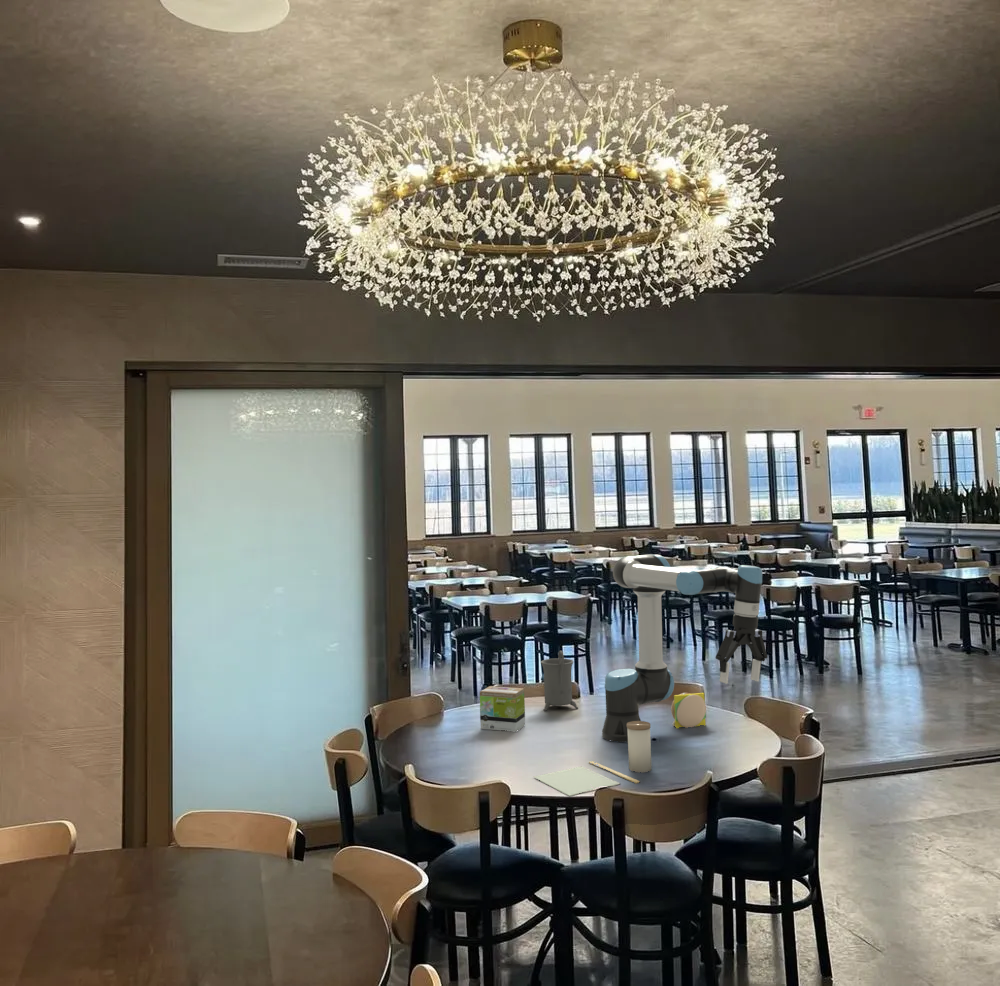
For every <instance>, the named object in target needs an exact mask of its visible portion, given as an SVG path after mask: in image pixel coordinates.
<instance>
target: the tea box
mask: <svg viewBox="0 0 1000 986" xmlns="http://www.w3.org/2000/svg"><path fill="white" fill-rule="evenodd" d="M525 708H526V705H525V688H523V687H521V688H520V687H507V686H494V685H493V686H491V685H489V686H487V687H486V688H484V689H482V690H480V691H479V716H480V717H479V718H480V723H479V724H480V730H491V731H493V730H494V731H501V730H505V731H504V732H510V731H517V730H518V731H520V730H521V729H522V728H524V727H525V726H524V725H526V712H525V711H526V709H525ZM523 726H524V727H523ZM520 728H521V729H520ZM519 729H520V730H519ZM506 730H507V731H506ZM518 731H517V732H518Z"/></svg>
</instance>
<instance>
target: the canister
mask: <svg viewBox="0 0 1000 986" xmlns="http://www.w3.org/2000/svg"><path fill="white" fill-rule="evenodd" d="M627 730H628V742H627V750H628V751H627V752H628V769H630V770H631V772H633V771H635V772H634V773H640V772H641V773H648V771H649V772H651V771H652V770H653V769H652V746H651V743H652V741H651V723H650V722H648V721H645V720H641V721H631V722H628V723H627ZM630 770H629V771H630Z"/></svg>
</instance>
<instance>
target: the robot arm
mask: <svg viewBox="0 0 1000 986" xmlns="http://www.w3.org/2000/svg"><path fill="white" fill-rule="evenodd" d="M612 577H613V579H614V581H615V582H616V584H617V585H618V586H620V587H622V588H625V589H632V591H633V593H634V594H635V595H636V596H637V620H638V621H637V623H638V624H637V625H638V626H637V627H638V628H637V629H638V632H637V633H638V661H637V662H636V663H635V665H634V668H623V669H622V668H618V669H614V670H612V671H610V672H608V673H607V674H606V675H605V677H604V679H605V680H604V690H605V717H604V718H605V719H604V722H603V726H602V729H601V736H602V737H601V738H603V739H604V738H605V739H604V740H606V739H607V741H609V740H611V741H610V742H614V741H618V742H617V743H628V730H627V723H628V722H631V721H642V720H641V718H640V717H641V716H640V714H639V713H640V712H639V710H640V709H639V705H645V704H650V703H651V704H653V703H659V702H662V701H665V700H667V699H669V698H670V697H671V696H672V694H673V692H674V688H675V678H674V676H673V673H672V672H671V670H670V669H668V664H666V662H664V659H663V656H664V655H663V654H664V653H663V621H662V620H663V619H662V618H663V616H662V613H663V612H662V596H663V594H664V593H665V592H666V591H674V592H680V593H681V595H682V594H683V595H686V596H688V595H689V596H693V595H700V594H707V593H719V592H728V593H731V594H735V598H734V605H733V612H734V613H733V615H732V616H733V617H732V625H733V627H734V628H733V630H732V629H731V630H730V629H726V630H725V635H724V638H723V640H722V642H721V644H720V646H719V649H718V651H717V652H716V655H715V659H716V660H718V661H719V662H720V665H719V673H720V674H719V675H720V677H719V682H720V683H722V684H724V685H727V684H729V675H730V674H729V673H730V662H729V661H730V659H731V658H732V656H733V655H734V654H735V652H736V651H737V649H738V648H739V647H741V646H744V645H747V646H748V647H749V650H750V651H751V654H752V655H753V657H754V658H753V659H752V664H751V672H750V673H751V674H750V680H752V681H755V682H758V683H759V682H760V673H761V669H762V663H763V662H765V661H766V659H768V654H767V650H766V646H765V641H764V637H763V630H761V629H758V627H759V626H758V624H759V623H758V622H759V617H758V615H759V610H760V602H761V593H762V585H763V570H762V568H761V567H759V566H755V565H748V564H741V565H739V566H738V567H737V569H734V568H729V567H726V566H723V565H722V566H719V565H718V566H717V565H714V566H711V567H710V568H708V569H707V568H706V569H691V568H690V569H687V568H680V567H679V568H677V567H672V566H671V565H670V563H669V562H668V560H667V559H666V558H665V557H664V556H662V555H661V554H653V553H650V554H641V555H639V554H638V555H627V556H623V557H622V558H619V559H618V560H617V561H616V562H615V564H614V565H613V569H612Z"/></svg>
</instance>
